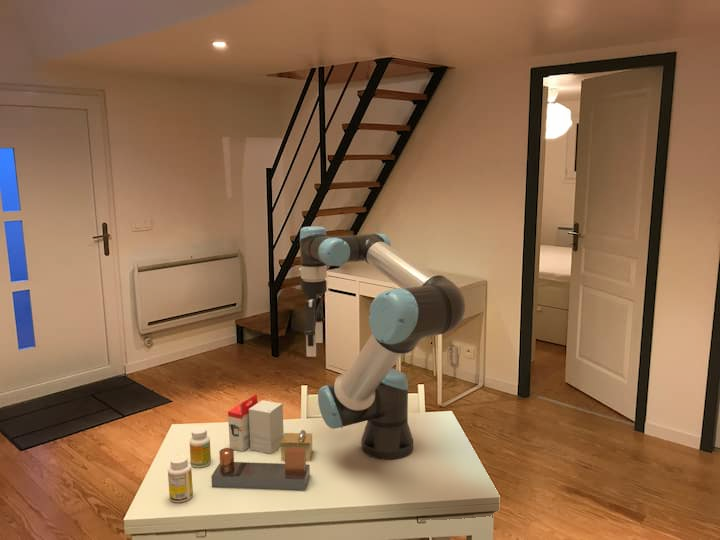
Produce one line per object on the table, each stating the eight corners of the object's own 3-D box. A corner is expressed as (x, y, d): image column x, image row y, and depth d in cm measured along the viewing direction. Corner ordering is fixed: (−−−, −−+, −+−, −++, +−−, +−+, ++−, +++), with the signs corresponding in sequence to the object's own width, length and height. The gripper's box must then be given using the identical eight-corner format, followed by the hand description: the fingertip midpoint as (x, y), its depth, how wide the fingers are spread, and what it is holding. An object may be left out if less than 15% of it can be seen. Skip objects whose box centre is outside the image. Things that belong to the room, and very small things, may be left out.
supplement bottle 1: (184, 488, 149) (182, 451, 147) (197, 496, 146) (195, 458, 144) (165, 498, 145) (162, 459, 143) (177, 506, 141) (175, 466, 140)
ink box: (246, 436, 178) (244, 390, 176) (259, 439, 176) (258, 393, 173) (228, 449, 170) (226, 401, 168) (243, 452, 168) (240, 403, 166)
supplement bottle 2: (205, 469, 159) (203, 435, 157) (187, 467, 160) (185, 433, 158) (214, 459, 164) (212, 426, 162) (196, 457, 165) (194, 425, 164)
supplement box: (284, 443, 173) (283, 403, 171) (270, 454, 167) (269, 412, 165) (263, 439, 177) (262, 399, 174) (249, 449, 170) (247, 408, 168)
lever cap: (312, 451, 169) (312, 428, 168) (309, 461, 163) (309, 438, 162) (284, 450, 169) (284, 428, 168) (281, 461, 163) (280, 437, 162)
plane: (309, 475, 156) (309, 443, 154) (304, 490, 148) (304, 457, 147) (221, 471, 157) (219, 440, 156) (211, 487, 150) (210, 454, 148)
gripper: (308, 271, 185) (309, 337, 188) (293, 287, 160) (294, 362, 164) (331, 272, 184) (332, 337, 188) (320, 288, 160) (321, 362, 163)
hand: (314, 349), depth 176 cm, fingers open, 13 cm apart
